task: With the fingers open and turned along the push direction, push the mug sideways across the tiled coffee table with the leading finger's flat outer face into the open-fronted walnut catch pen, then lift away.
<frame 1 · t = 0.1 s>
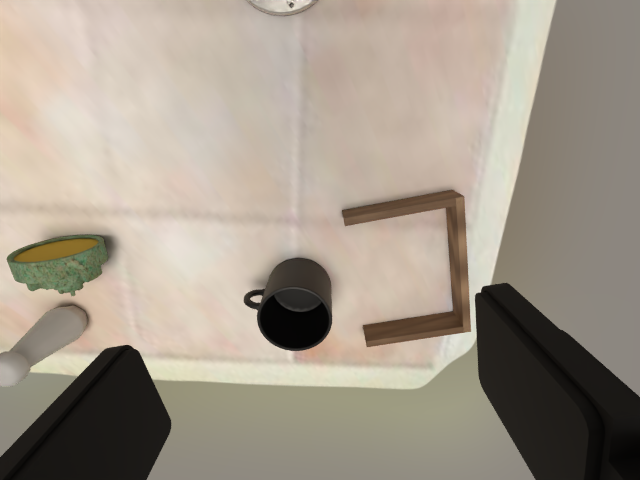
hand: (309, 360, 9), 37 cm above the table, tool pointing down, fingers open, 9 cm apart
mug: (291, 284, 50), on the table
catch pen: (401, 266, 48), on the table
salt shaker: (75, 315, 52), on the table
decorative artifact: (92, 256, 49), on the table
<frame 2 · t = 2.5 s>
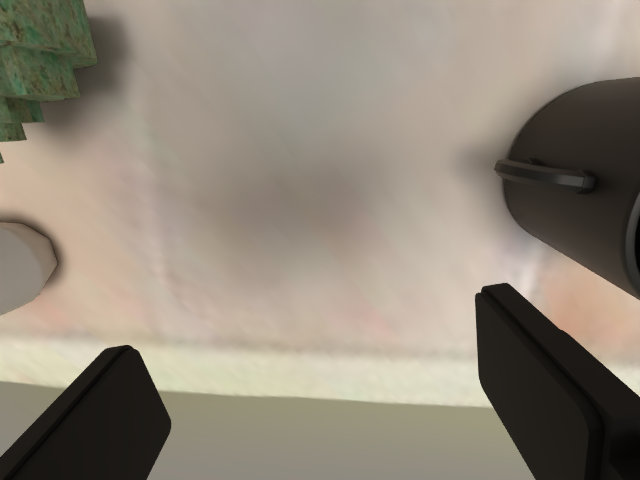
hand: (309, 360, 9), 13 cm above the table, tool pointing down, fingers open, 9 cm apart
mug: (559, 165, 20), on the table
salt shaker: (28, 250, 23), on the table
decorative artifact: (59, 88, 19), on the table
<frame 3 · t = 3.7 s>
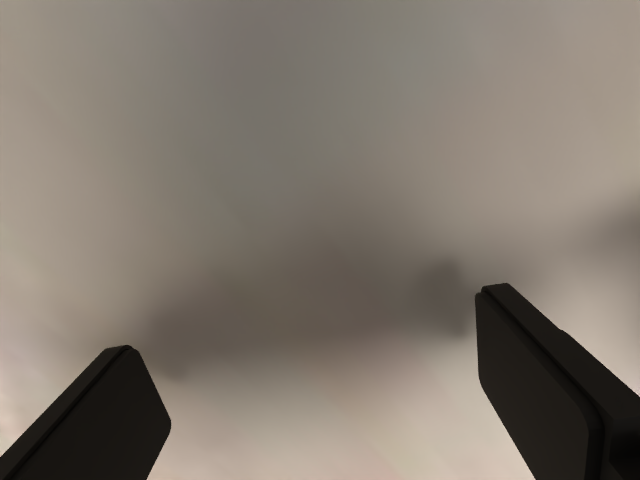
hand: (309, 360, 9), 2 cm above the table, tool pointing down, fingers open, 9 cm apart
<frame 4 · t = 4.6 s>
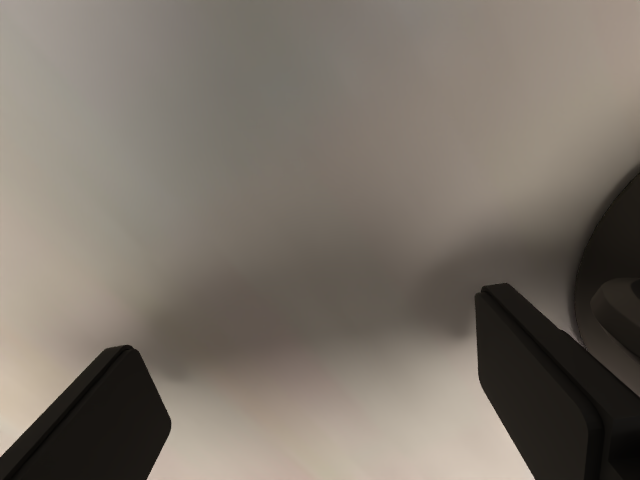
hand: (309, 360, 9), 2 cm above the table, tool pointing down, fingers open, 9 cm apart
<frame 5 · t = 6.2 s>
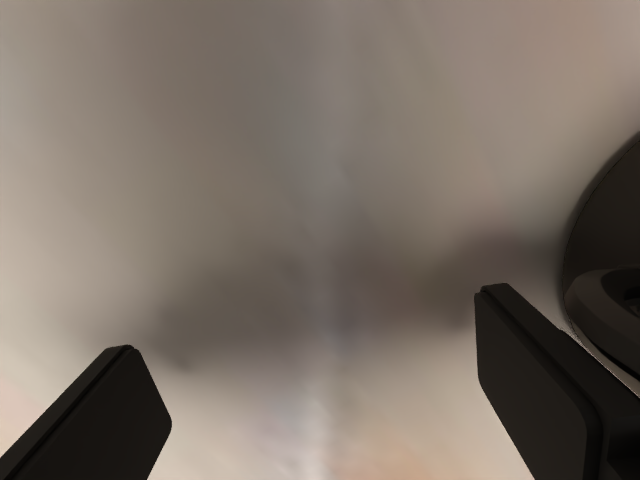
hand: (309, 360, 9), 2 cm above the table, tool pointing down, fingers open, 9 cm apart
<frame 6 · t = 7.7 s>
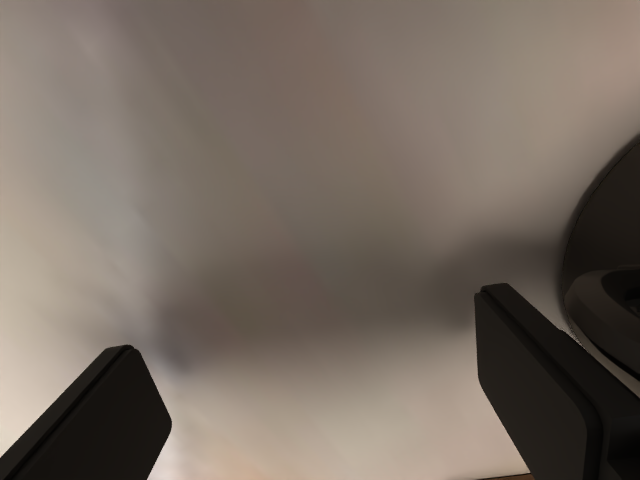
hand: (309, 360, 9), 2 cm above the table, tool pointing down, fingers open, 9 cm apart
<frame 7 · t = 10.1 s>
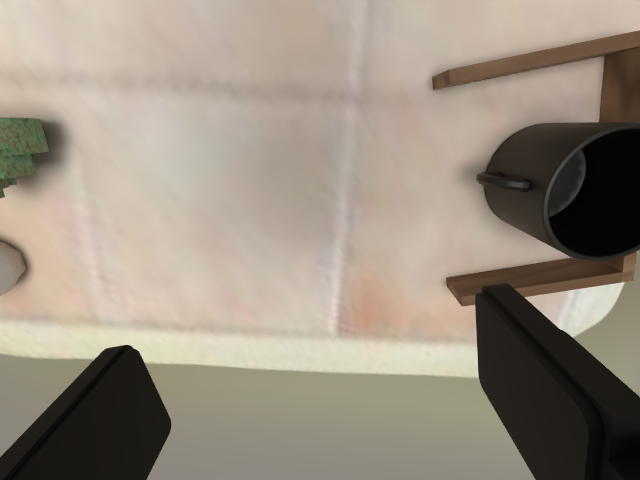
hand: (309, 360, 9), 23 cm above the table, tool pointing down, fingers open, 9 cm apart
mug: (519, 175, 31), on the table
catch pen: (516, 179, 30), on the table
salt shaker: (7, 259, 34), on the table
decorative artifact: (28, 160, 31), on the table
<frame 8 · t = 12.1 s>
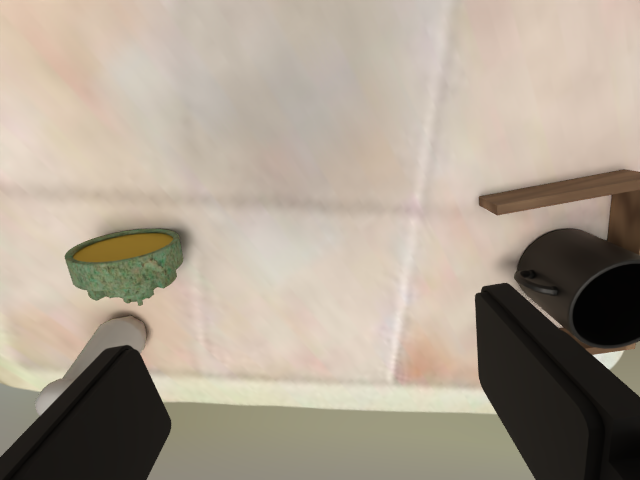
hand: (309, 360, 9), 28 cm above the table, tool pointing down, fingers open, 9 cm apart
mug: (545, 264, 39), on the table
catch pen: (543, 267, 39), on the table
salt shaker: (131, 328, 43), on the table
decorative artifact: (157, 255, 39), on the table
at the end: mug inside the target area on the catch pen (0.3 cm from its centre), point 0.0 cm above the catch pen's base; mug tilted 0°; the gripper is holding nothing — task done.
